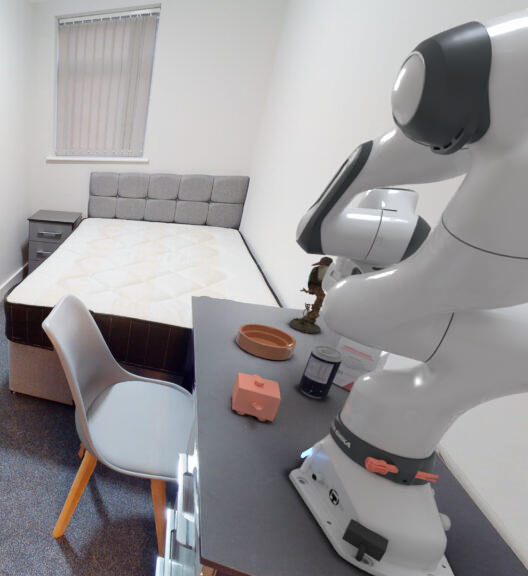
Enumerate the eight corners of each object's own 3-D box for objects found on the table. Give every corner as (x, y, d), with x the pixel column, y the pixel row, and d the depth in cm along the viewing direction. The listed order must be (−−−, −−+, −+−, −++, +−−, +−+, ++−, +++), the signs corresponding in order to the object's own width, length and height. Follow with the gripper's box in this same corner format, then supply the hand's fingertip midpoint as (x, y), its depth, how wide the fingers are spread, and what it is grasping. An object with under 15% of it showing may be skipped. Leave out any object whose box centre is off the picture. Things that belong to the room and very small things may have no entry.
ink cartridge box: (373, 392, 92) (397, 341, 86) (362, 397, 90) (386, 345, 84) (333, 373, 99) (354, 325, 93) (323, 378, 97) (343, 328, 91)
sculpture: (280, 329, 121) (304, 257, 112) (296, 318, 129) (320, 250, 120) (309, 340, 115) (337, 264, 106) (325, 328, 123) (352, 256, 114)
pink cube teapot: (231, 421, 81) (240, 391, 78) (231, 391, 91) (239, 363, 88) (273, 434, 78) (284, 403, 75) (268, 401, 87) (278, 372, 84)
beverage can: (331, 402, 88) (349, 359, 83) (304, 398, 89) (321, 356, 84) (318, 387, 93) (334, 346, 88) (293, 384, 94) (308, 343, 89)
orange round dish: (298, 365, 102) (303, 351, 100) (241, 355, 106) (245, 342, 104) (282, 341, 114) (287, 328, 113) (231, 332, 119) (235, 320, 117)
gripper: (324, 250, 88) (306, 302, 94) (368, 279, 70) (342, 342, 76) (356, 253, 86) (336, 306, 92) (410, 284, 69) (380, 347, 74)
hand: (339, 322), depth 84 cm, fingers open, 8 cm apart
